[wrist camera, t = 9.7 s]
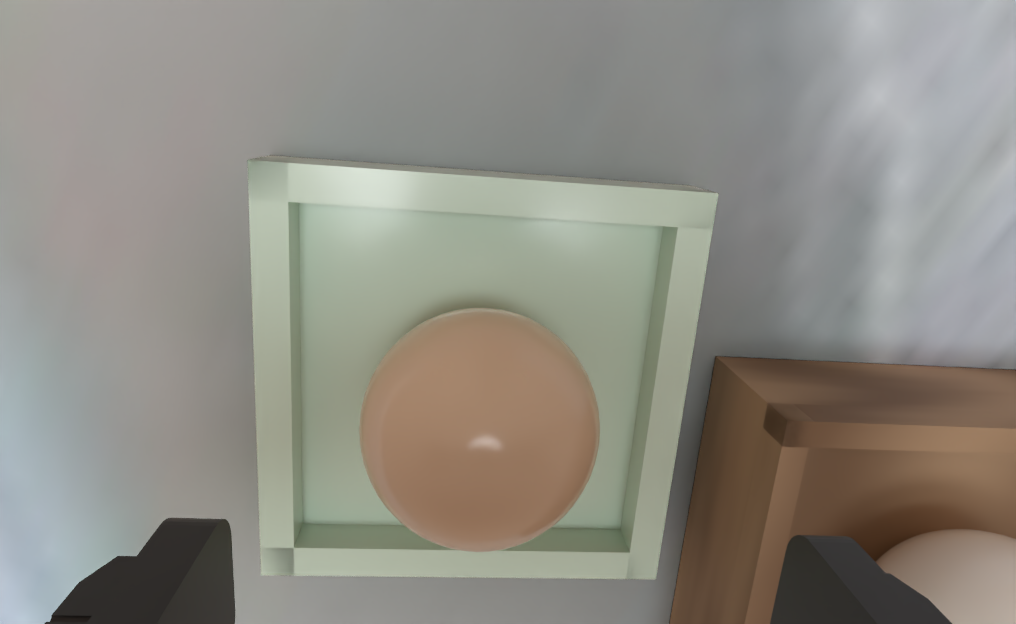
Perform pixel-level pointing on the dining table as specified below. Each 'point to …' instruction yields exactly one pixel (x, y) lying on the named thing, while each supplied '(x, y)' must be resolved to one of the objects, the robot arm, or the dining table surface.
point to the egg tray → (837, 469)
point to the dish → (452, 286)
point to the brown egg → (479, 429)
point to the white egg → (959, 573)
